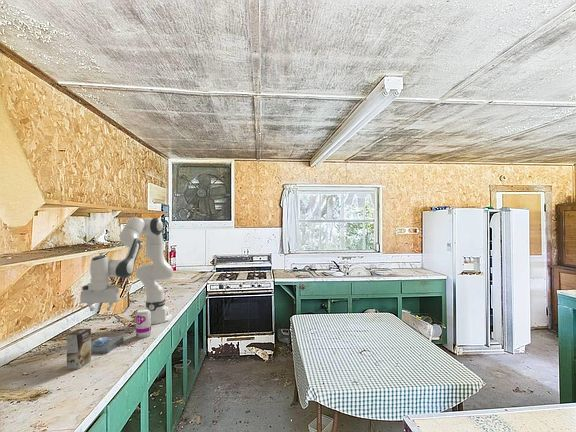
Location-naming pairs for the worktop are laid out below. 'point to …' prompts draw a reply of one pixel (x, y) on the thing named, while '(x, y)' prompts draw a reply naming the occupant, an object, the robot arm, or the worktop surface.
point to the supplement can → (143, 323)
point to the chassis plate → (106, 345)
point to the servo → (101, 341)
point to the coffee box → (78, 348)
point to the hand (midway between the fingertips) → (100, 310)
